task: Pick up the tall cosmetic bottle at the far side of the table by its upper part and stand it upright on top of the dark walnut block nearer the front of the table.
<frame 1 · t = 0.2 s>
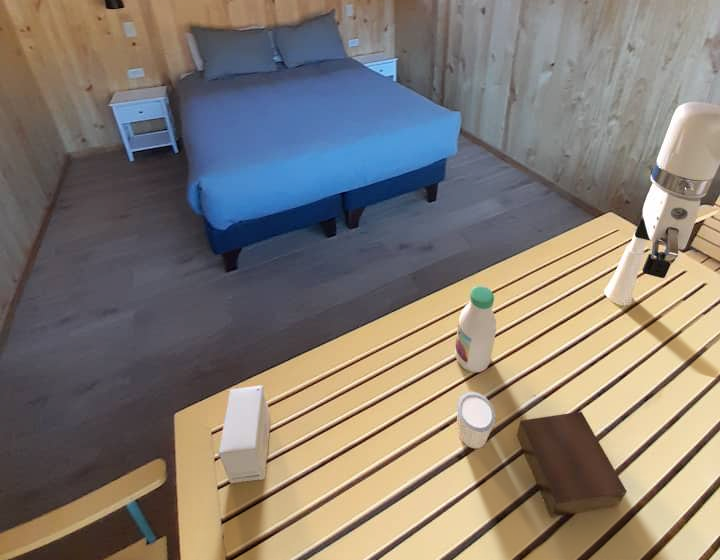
hand: (648, 255, 73), 32 cm above the table, tool pointing down, fingers open, 9 cm apart
cosmetics box: (250, 448, 75), on the table
block: (563, 468, 71), on the table
milk bottle: (471, 357, 90), on the table
cosmetic bottle: (617, 296, 104), on the table
white yogurt cup: (471, 432, 77), on the table
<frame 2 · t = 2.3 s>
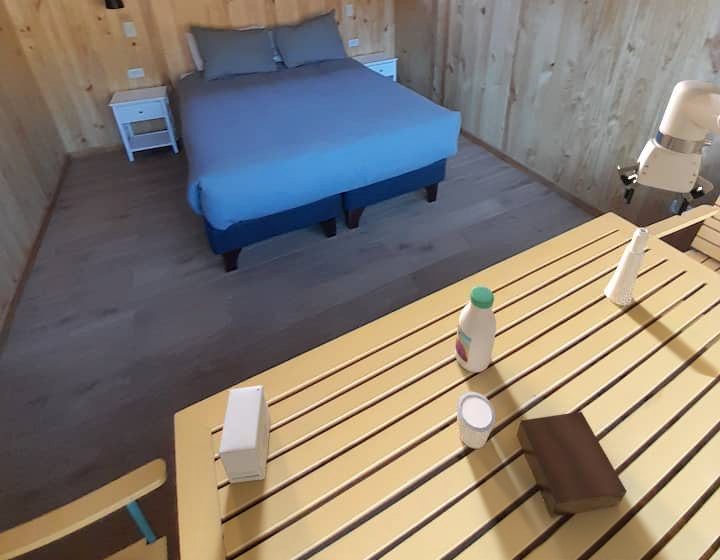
hand: (651, 206, 90), 29 cm above the table, tool pointing down, fingers open, 9 cm apart
nothing on the table moved.
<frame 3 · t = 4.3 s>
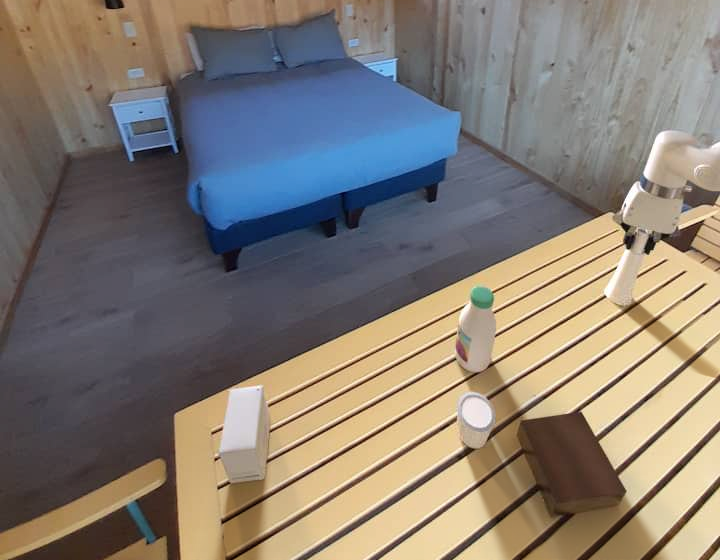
hand: (636, 247, 96), 17 cm above the table, tool pointing down, fingers closed on cosmetic bottle, 3 cm apart
cosmetic bottle: (617, 296, 104), on the table, touching gripper
everything else where it was.
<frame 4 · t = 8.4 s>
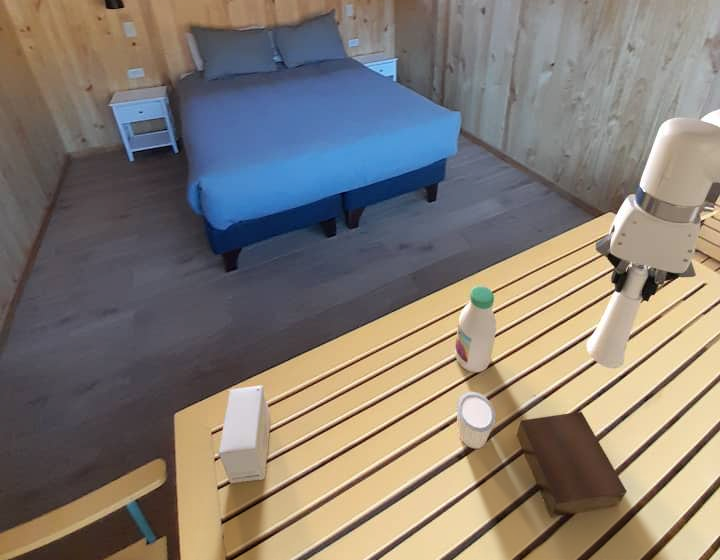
hand: (630, 289, 66), 32 cm above the table, tool pointing down, fingers closed on cosmetic bottle, 3 cm apart
cosmetic bottle: (604, 353, 74), point 15 cm above the table, touching gripper
everything else where it was.
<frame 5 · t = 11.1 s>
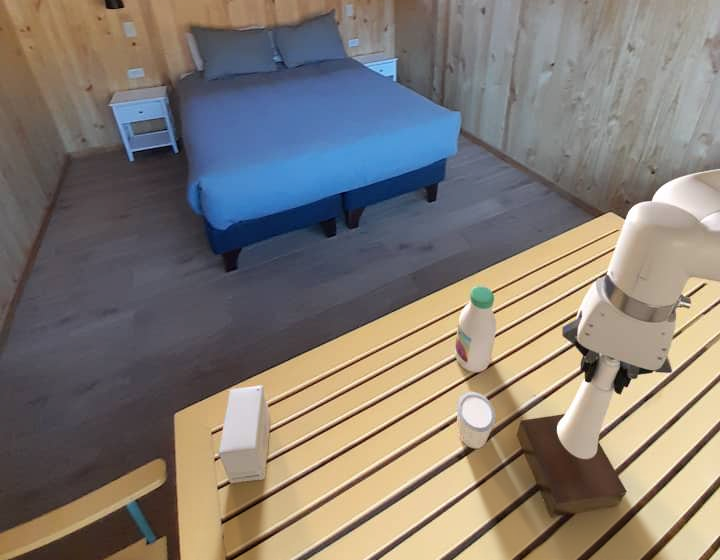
hand: (601, 378, 59), 26 cm above the table, tool pointing down, fingers closed on cosmetic bottle, 3 cm apart
cosmetic bottle: (576, 438, 67), point 10 cm above the table, touching gripper
everything else where it was.
when the fingers open (22 cm above the table, at t = 12.7 s): cosmetic bottle stays where it is, resting on block.
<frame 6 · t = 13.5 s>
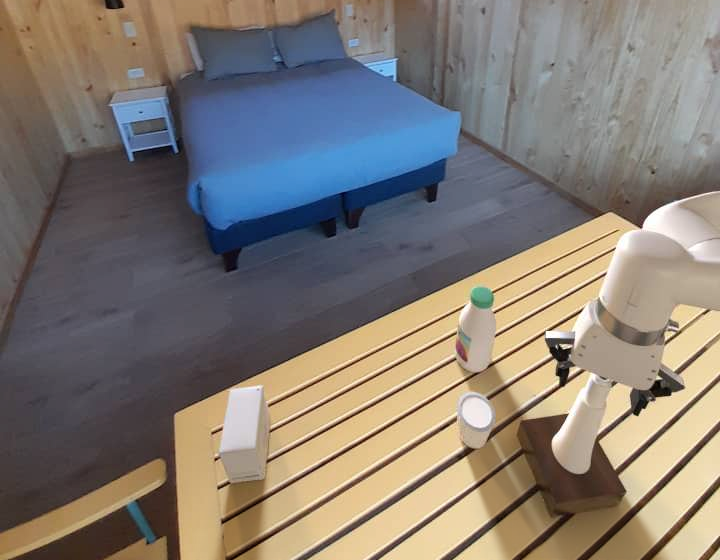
hand: (596, 391, 61), 23 cm above the table, tool pointing down, fingers open, 9 cm apart
block: (563, 468, 71), on the table, touching cosmetic bottle
cosmetic bottle: (570, 453, 69), point 5 cm above the table, touching block
everything else where it was.
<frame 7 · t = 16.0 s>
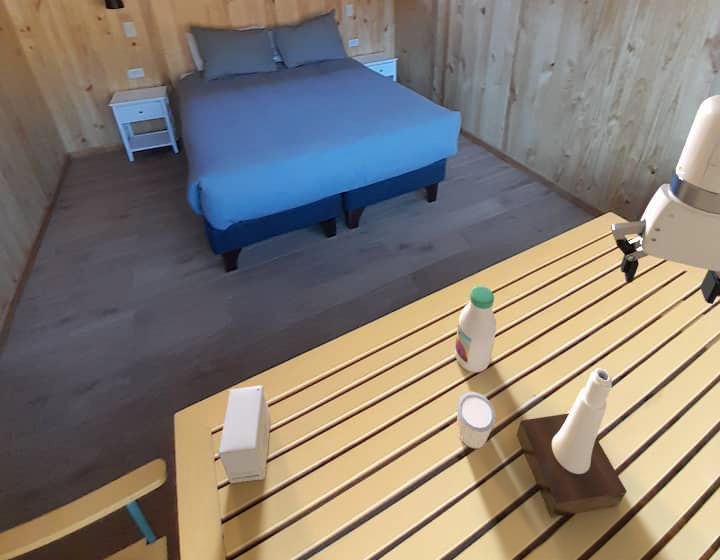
hand: (665, 285, 59), 39 cm above the table, tool pointing down, fingers open, 9 cm apart
nothing on the table moved.
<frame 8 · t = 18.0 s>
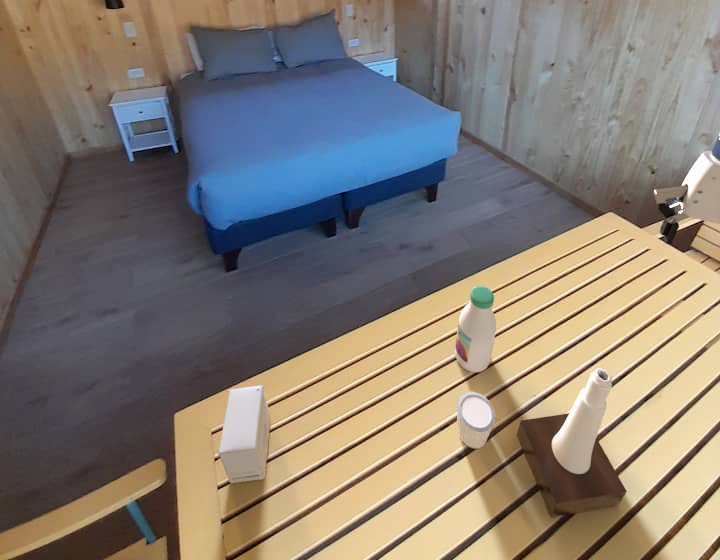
hand: (702, 247, 64), 40 cm above the table, tool pointing down, fingers open, 9 cm apart
nothing on the table moved.
at the end: cosmetic bottle inside the target area on the block (0.1 cm from its centre), point 4.8 cm above the block's base; cosmetic bottle tilted 0°; the gripper is holding nothing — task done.
